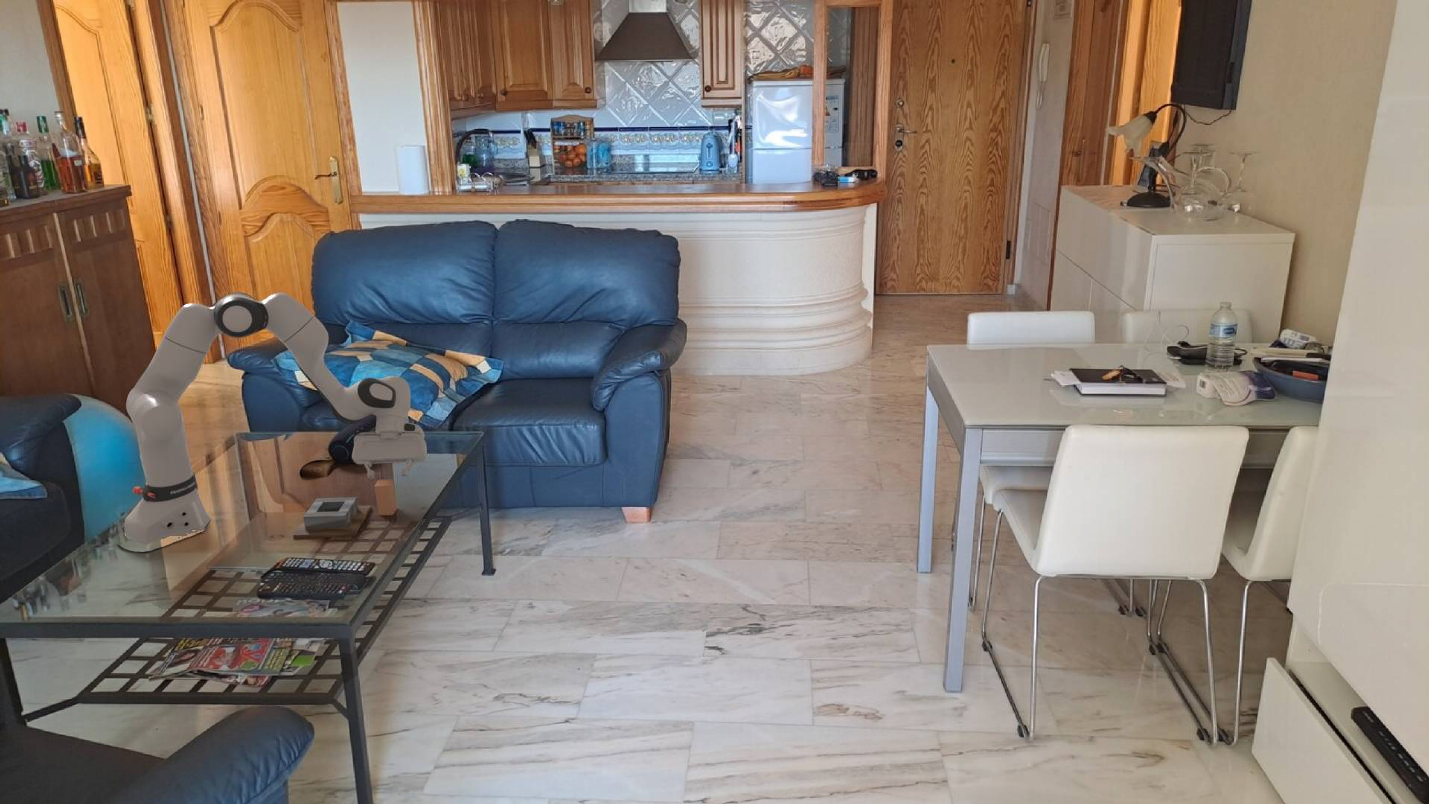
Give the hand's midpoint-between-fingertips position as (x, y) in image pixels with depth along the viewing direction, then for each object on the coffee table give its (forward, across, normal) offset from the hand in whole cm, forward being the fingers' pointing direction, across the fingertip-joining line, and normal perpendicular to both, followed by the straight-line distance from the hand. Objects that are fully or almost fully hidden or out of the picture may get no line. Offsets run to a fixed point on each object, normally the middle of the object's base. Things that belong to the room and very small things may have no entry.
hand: (387, 476), depth 273 cm
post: (+9, 0, +3) cm, 10 cm away
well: (+13, -13, -1) cm, 19 cm away
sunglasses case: (-14, -28, +28) cm, 42 cm away
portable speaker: (-22, -19, +35) cm, 45 cm away
